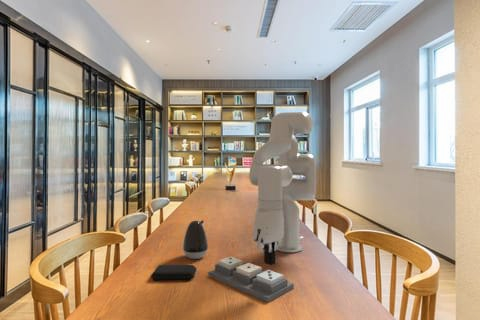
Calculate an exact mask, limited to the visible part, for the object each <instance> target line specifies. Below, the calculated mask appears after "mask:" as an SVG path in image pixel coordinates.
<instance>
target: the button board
mask: <svg viewBox="0 0 480 320" xmlns="http://www.w3.org/2000/svg"><path fill="white" fill-rule="evenodd" d="M244 264H245V263H244V262H242V265H244ZM238 267H239V266H238ZM265 271H266V270H262V272H265ZM262 272H260V273H262ZM260 273H258V274H260ZM258 274H256V275H254V276H251V277H248V276H245V275H243V274H240V273H238V272H236V268H233V269H227V268H225V267H222V266H220V265H219V262H218V263H216V264H215V265H214V268H213V269H212V270H209V271H208V277H210V278H212V279H214V280H217V281H219V282H222V283H223V284H225V285H228V286H229V287H233V288H234V289H237V290H239V291H240V292H243V293H245V294H248V295H249V296H252V297H254V298H256V299H258V300H261V301H263V302H265V303H270V302H272V301H274V300H275V299H277V298H279V297H281V296H282V295H284V294H286V293H288V292H290V291H291V290H293V289H294V288H295V287H294V285H295V284H294V282H291V281H288V278H284V277H283V281H281V282H279V283H277V284H275V285H273V286H270V285H268V284H265V283H263V282H260V281H258V280H257V275H258Z"/></svg>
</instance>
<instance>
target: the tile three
mask: <svg viewBox="0 0 480 320" xmlns="http://www.w3.org/2000/svg"><path fill="white" fill-rule="evenodd" d="M264 271H265V272H262V273H260V274H258V275H257V280H258V281H260V282H263V283H265V284H268V285H270V286H273V285H275V284H277V283H279V282H281V281H283V278H284V274H282V273H279V272H275V271H273V270H271V269H266V270H264Z"/></svg>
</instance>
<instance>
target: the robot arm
mask: <svg viewBox="0 0 480 320" xmlns="http://www.w3.org/2000/svg"><path fill="white" fill-rule="evenodd" d="M313 121H314V120H313V117H312V115H311V114H310V113H308V112H305V111H297V112H296V111H294V112H280V113H277V114H276V115H274V116H272V117H271V120H270V124H271V128H270V132H269V138H268V141H266V142H265V143H264V144H263V145H261V146H260V147H259V148H258V149H257V150H256V151H255V153H254V154H253V156H252V159H251V163H250V165H249V166H250V167H249V173H248V177H249V181H250V183H251V184H252V185H253V186H254V187H257V210H256V211H255V214H254V215H255V217H254V222H253V223H254V225H253V242H256V247H257V248H258V249H262V251H263V255H264V256H263V259H264V260H263V262H264V264H266V265H269V266H273V265H275V264H276V251H278V252H281V253H299V252H301V251H302V250H303V249H304V247H303V244H301V242H302V241H304V240H305V237H304V236H301V235H300V208H299V206H298V205H297V203H296V201H313V200H315V198H316V196H317V195H316V194H317V164H316V163H317V161H316V158H315V156H314V155H313V154H310V153H300V152H299V141H298V139H297V138H296V137H295V135H309V134H311V132H312V129H313V127H314V122H313ZM276 157H278V164H276V163H275V164H272V163H271V164H270V163H269V164H268V163H265V162H267V161H268V160H271V159H273V158H276ZM293 176H303V177H304V178H295V177H293Z"/></svg>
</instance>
